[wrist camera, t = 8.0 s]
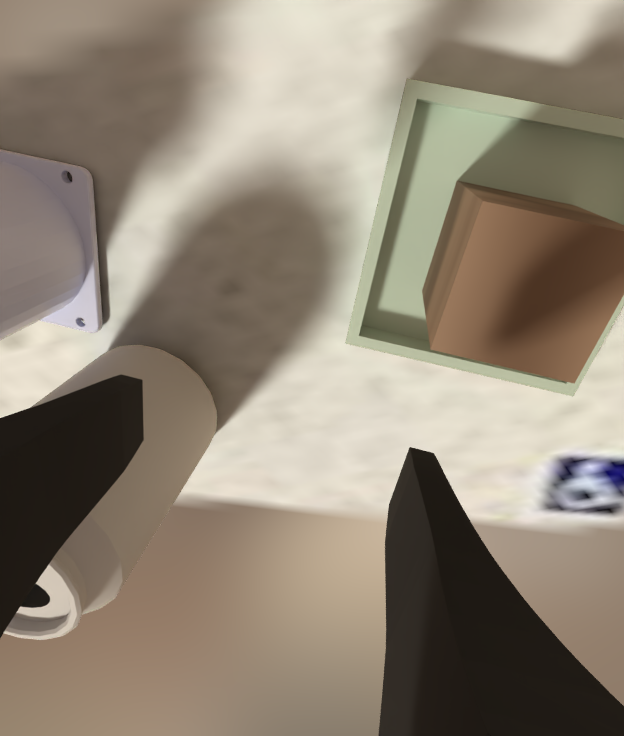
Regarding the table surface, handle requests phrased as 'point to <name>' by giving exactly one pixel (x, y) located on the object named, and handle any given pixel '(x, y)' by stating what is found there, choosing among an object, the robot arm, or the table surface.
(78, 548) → the can
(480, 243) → the block
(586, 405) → the table surface
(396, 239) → the tray
